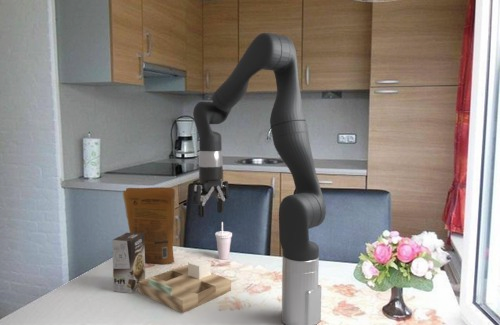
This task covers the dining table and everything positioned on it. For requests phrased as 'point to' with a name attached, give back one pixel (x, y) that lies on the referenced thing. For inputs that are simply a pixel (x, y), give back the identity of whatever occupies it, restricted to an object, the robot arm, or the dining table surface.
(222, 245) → the smoothie
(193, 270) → the block
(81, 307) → the dining table surface
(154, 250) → the pancake mix bag
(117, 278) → the coffee box
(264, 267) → the dining table surface
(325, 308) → the dining table surface
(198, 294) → the trap deck
